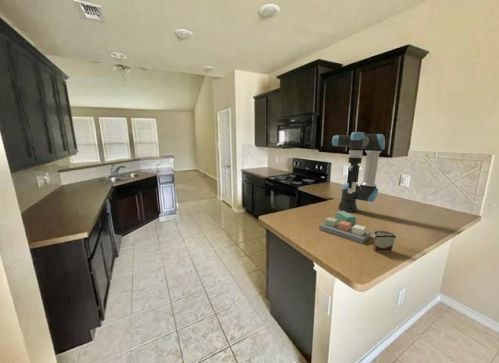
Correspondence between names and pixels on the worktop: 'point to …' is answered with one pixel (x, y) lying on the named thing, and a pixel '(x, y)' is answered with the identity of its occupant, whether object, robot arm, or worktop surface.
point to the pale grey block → (359, 230)
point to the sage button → (331, 222)
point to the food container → (383, 241)
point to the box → (345, 217)
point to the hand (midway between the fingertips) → (351, 192)
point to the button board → (345, 233)
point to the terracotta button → (344, 225)
